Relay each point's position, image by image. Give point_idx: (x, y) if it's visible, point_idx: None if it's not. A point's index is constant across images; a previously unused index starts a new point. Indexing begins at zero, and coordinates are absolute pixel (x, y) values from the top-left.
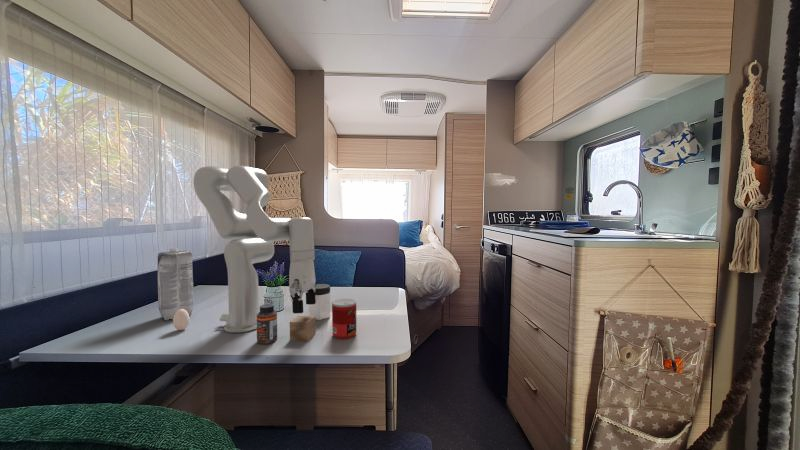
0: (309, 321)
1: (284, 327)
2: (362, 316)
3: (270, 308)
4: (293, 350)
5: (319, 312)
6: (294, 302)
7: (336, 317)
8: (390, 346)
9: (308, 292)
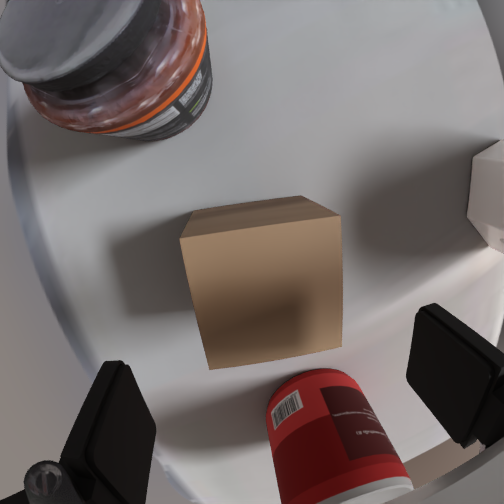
0: (237, 365)
1: (359, 70)
2: None
3: (36, 84)
4: (103, 298)
5: (492, 224)
6: (64, 465)
7: (281, 472)
8: (246, 498)
9: (488, 402)
